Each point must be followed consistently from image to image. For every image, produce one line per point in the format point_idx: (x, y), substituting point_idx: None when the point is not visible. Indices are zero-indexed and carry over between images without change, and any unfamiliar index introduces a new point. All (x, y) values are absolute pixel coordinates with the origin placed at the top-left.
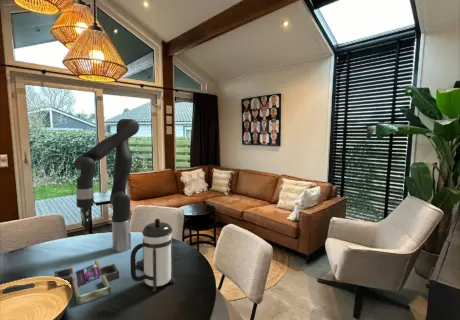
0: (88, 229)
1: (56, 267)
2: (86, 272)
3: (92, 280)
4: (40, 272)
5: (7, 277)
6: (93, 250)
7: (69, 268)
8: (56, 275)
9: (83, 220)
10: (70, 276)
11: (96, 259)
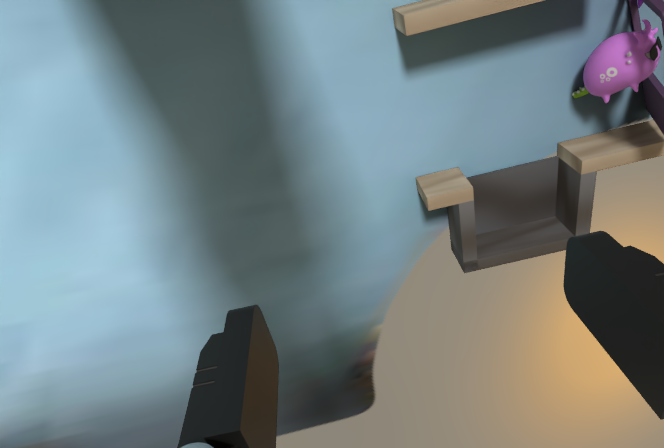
0: (644, 255)
1: (315, 267)
2: (639, 82)
3: (640, 26)
4: (346, 322)
5: (337, 414)
6: (69, 64)
7: (466, 203)
8: (521, 254)
9: (266, 444)
10: (590, 179)
11: (410, 18)
